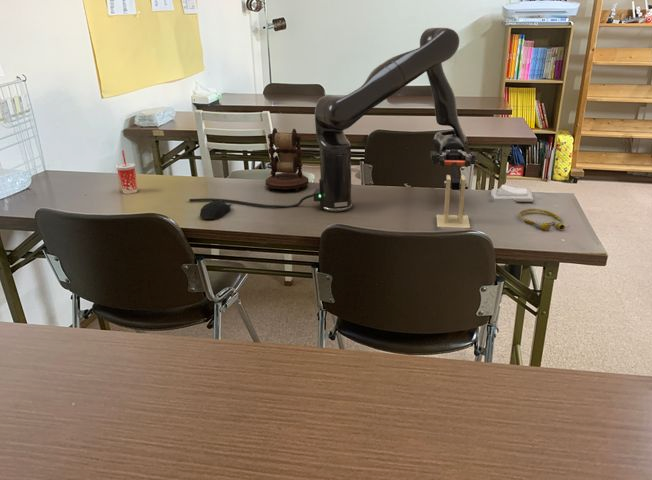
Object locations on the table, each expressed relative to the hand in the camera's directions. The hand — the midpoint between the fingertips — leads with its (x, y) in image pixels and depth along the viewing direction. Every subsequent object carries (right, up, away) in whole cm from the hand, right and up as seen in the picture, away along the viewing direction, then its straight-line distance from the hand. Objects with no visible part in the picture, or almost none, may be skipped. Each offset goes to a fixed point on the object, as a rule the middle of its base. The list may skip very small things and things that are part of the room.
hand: (455, 163), depth 158 cm
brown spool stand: (-52, -2, +34) cm, 62 cm away
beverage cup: (-105, -4, +30) cm, 109 cm away
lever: (0, -4, -1) cm, 4 cm away
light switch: (+22, -7, +22) cm, 32 cm away
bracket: (-1, -18, 0) cm, 18 cm away
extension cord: (+25, -17, +2) cm, 30 cm away
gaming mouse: (-70, -13, +10) cm, 72 cm away
